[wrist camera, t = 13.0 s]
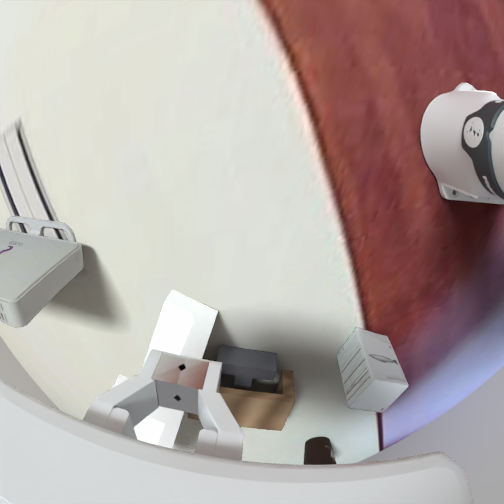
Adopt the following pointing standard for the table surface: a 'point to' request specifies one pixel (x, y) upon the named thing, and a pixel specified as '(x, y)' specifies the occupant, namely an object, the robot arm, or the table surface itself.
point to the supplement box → (370, 371)
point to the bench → (260, 405)
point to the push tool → (246, 365)
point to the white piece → (181, 343)
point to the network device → (34, 268)
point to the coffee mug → (318, 452)
